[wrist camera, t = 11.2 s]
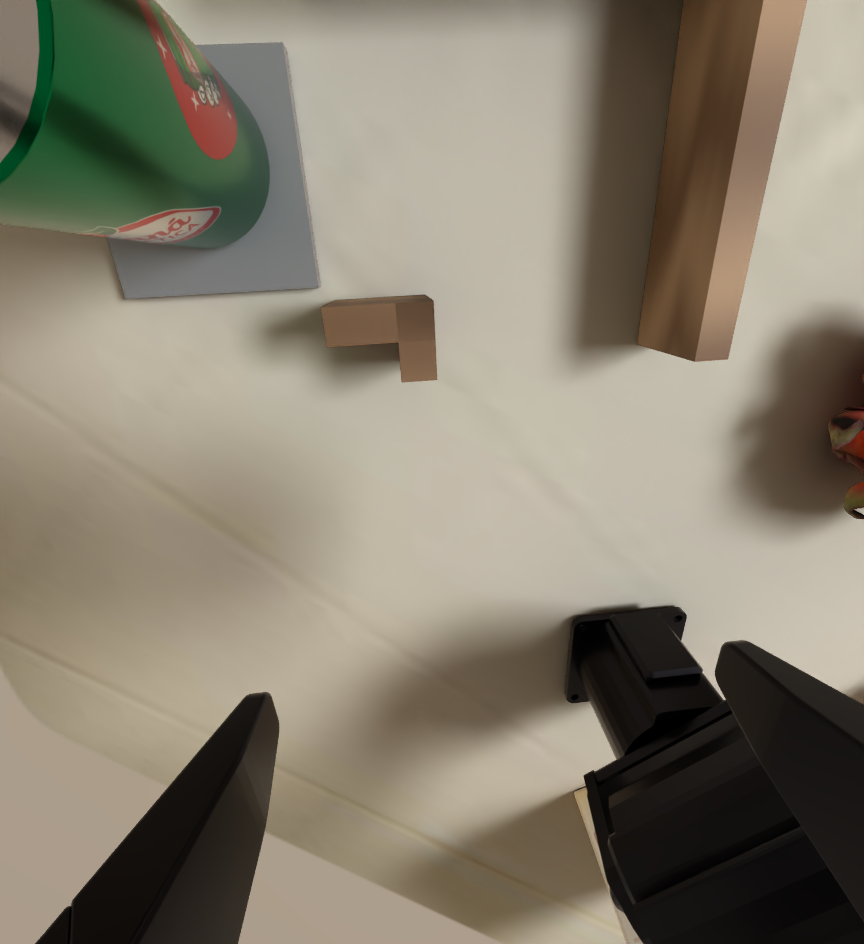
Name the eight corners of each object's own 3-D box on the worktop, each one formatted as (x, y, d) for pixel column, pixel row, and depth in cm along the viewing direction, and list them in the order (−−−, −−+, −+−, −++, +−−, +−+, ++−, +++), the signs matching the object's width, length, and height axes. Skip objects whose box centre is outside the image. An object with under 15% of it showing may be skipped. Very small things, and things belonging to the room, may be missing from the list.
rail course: (664, 342, 19) (727, 359, 16) (344, 364, 18) (332, 387, 15) (730, -76, 14) (850, -199, 10) (286, -68, 13) (246, -198, 10)
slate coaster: (321, 286, 17) (318, 287, 17) (134, 297, 17) (125, 298, 16) (287, 51, 14) (282, 42, 14) (60, 58, 14) (47, 49, 13)
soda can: (120, 232, 15) (-543, 136, 4) (105, 46, 13) (-1139, -934, 3) (270, 263, 16) (16, 245, 5) (278, 92, 14) (-102, -510, 3)
